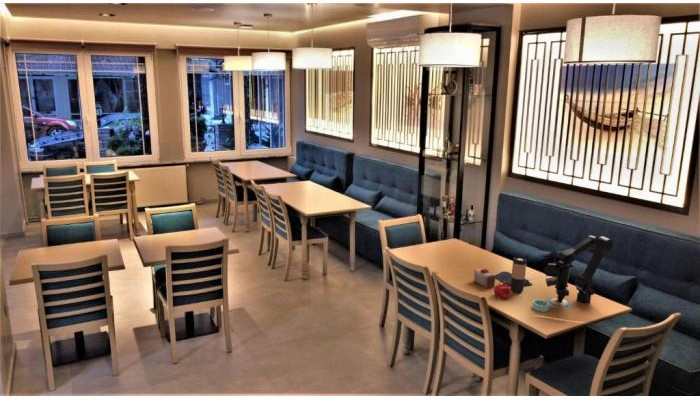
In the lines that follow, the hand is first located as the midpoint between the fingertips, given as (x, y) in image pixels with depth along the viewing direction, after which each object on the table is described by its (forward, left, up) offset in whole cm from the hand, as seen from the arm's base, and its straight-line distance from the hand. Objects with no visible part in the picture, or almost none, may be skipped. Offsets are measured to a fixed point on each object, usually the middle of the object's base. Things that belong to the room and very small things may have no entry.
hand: (559, 301), depth 285 cm
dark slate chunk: (+25, -27, -3) cm, 37 cm away
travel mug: (+23, -12, -2) cm, 26 cm away
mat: (0, 0, -2) cm, 2 cm away
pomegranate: (+31, 0, -2) cm, 31 cm away
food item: (+42, -15, -2) cm, 44 cm away
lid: (0, 0, -1) cm, 1 cm away
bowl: (+11, +11, -2) cm, 15 cm away
